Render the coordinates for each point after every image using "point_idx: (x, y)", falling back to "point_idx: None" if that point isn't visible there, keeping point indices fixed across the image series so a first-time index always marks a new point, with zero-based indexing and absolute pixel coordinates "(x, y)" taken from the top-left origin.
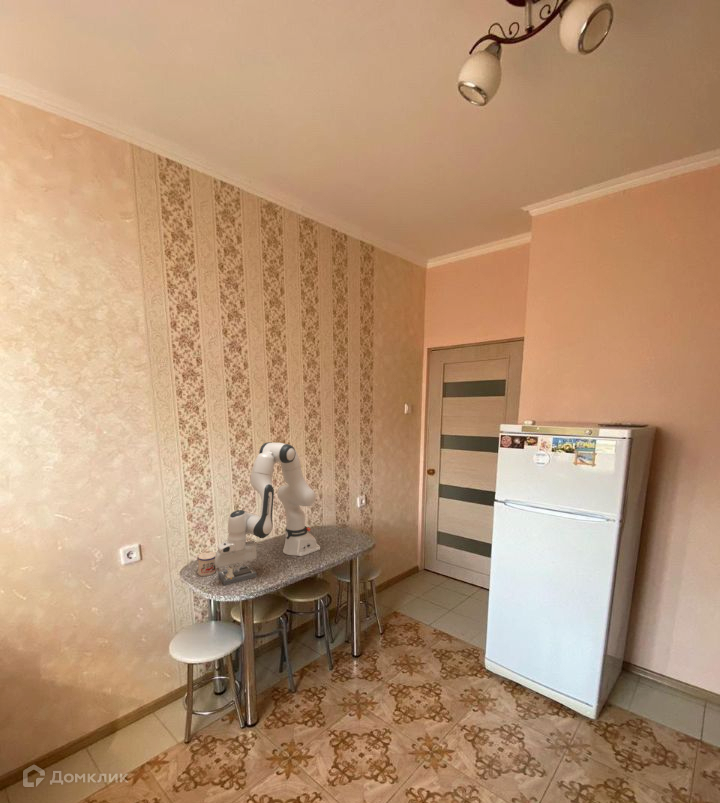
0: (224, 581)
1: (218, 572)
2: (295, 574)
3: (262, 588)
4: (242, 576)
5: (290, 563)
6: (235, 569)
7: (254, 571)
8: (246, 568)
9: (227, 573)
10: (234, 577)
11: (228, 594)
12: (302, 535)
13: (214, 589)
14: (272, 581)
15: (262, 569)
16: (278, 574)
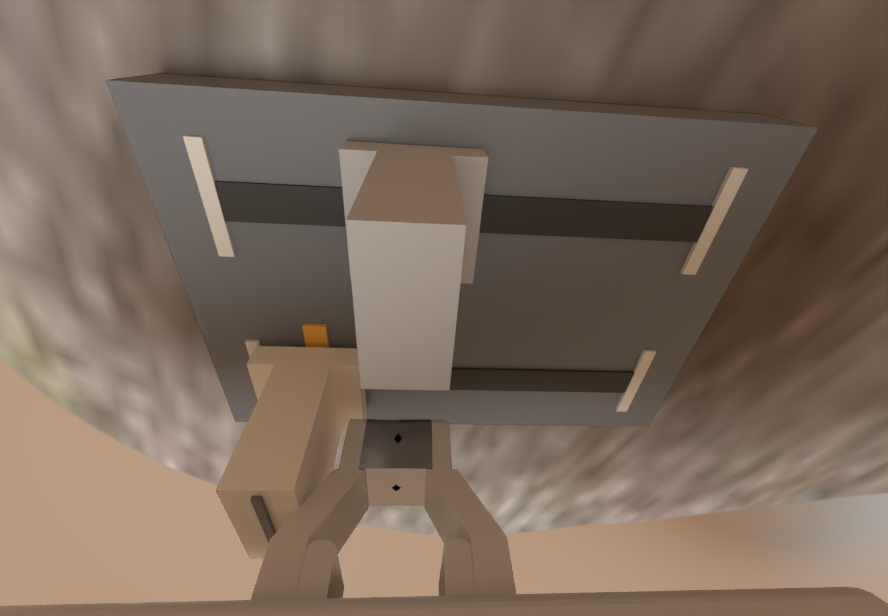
0: (240, 418)
1: (110, 82)
2: (874, 488)
3: (538, 528)
4: (471, 423)
5: None
6: (379, 496)
7: (661, 389)
8: (654, 252)
9: (272, 374)
10: (375, 402)
11: None
12: None
13: (147, 403)
14: (662, 494)
15: (835, 266)
16: (803, 438)
